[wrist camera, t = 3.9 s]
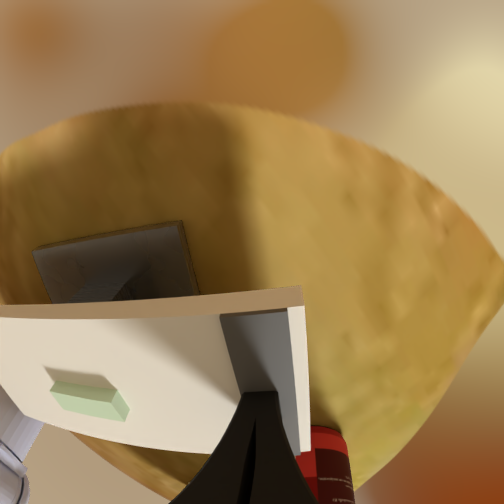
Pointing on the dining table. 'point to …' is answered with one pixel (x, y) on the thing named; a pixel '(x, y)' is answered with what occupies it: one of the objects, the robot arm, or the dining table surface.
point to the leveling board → (158, 365)
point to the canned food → (327, 467)
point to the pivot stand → (119, 266)
